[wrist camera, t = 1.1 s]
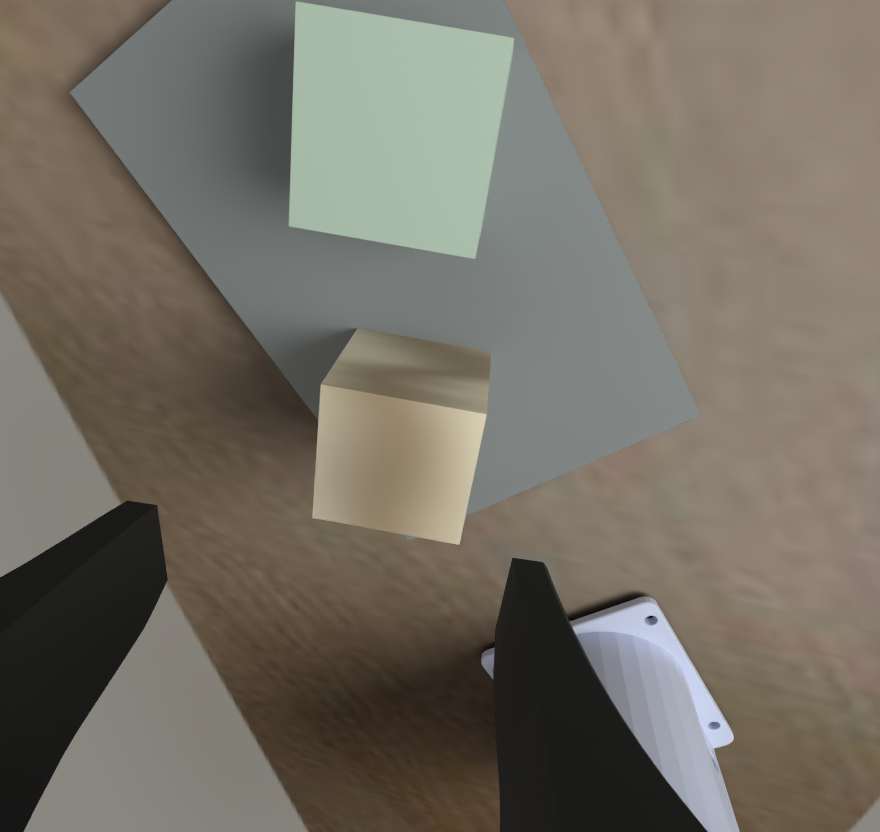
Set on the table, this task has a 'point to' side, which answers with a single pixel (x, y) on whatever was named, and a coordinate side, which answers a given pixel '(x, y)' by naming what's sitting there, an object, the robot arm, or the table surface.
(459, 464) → the birch block
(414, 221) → the sage block
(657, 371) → the board
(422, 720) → the table surface
